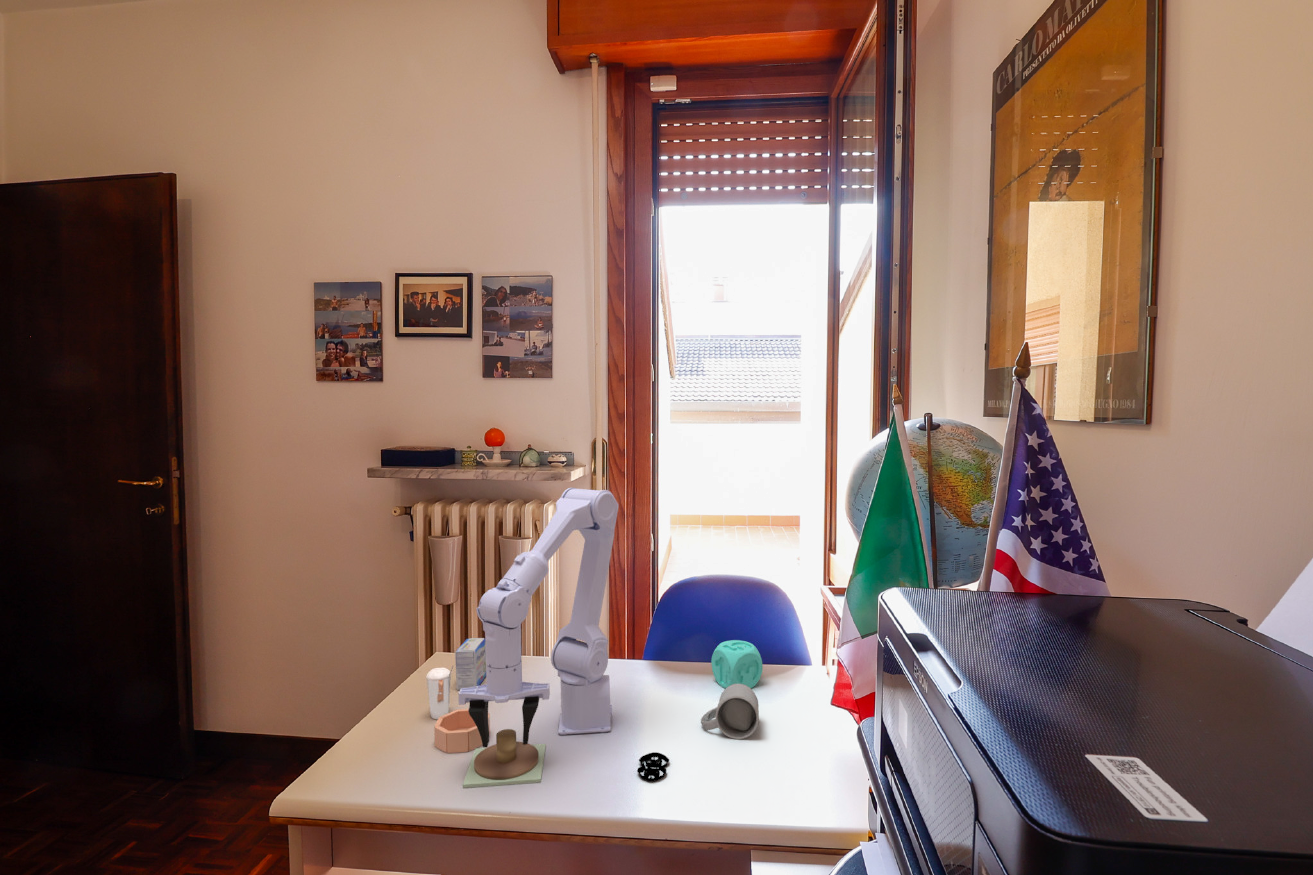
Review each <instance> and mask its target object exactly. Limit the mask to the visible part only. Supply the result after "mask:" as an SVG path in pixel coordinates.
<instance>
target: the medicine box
mask: <svg viewBox="0 0 1313 875" xmlns="http://www.w3.org/2000/svg"><path fill="white" fill-rule="evenodd" d="M454 654H455V655H454V656H455V657H454V658H455V680H456V681H455V682H456V691H460V689H461V688H470V687H475V686H481V685H482V683H483V682H484V680H485V678H486V643H485V638H484V637H472V638H466V639H465V640H464V642H463V643H462V644H461V645H460V646H459V647H458V648H457V649H456V650H455V652H454Z"/></svg>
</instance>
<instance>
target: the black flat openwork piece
mask: <svg viewBox="0 0 1313 875" xmlns="http://www.w3.org/2000/svg"><path fill="white" fill-rule="evenodd" d="M648 761H649V762H648ZM658 761H659V762H658ZM663 761H664V762H663ZM638 762H639V763H640V764H641V766H640V767H638V768H637V770H636V772H637V773H638V774H639V776H640V778H642V780H644V781H646V782H651V783H653V782H657V781H658V780H661V779H663V778H664V777H665V774H667V768H666V767H667V766H668V763H669V762H670V759H669V757H667V756H666V755H665V754H663V753H660V752H648V753H647V754H644V755H641V757H640V758H639V759H638ZM661 773H662V775H661Z"/></svg>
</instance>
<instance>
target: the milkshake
mask: <svg viewBox="0 0 1313 875" xmlns="http://www.w3.org/2000/svg"><path fill="white" fill-rule="evenodd" d="M453 668H454V665H452V666H451V668H450V670H449V669H448V668H446V667H434V668H432V669H431V670H429V671H428V673H427V674H426V677H425V679H426V685H427V693H428V701H429V703H428V704H429V711H430V718H432V719H433V720H438V719H439V717H441V716H443V715H445V714H448V713H450V712H449V711H450V696H451V695H450V694H451V691H450V690H451V678H452V670H453Z"/></svg>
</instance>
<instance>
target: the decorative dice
mask: <svg viewBox="0 0 1313 875" xmlns="http://www.w3.org/2000/svg"><path fill="white" fill-rule="evenodd" d="M761 656H762V655H761V654H760V652H759V650H758V648H757V647H756V646H755V645H754V644H753V643H751V642H748V641H745V640H740V639H732V640H726V641H723V642H720V643H719V644H718V645H717V647H716V648H715V649H714V651H713V653H712V656H711V660H710V661H711V663H710V664H711V670H712V674H713V677H714V679H715V680H716V682H717V683H718V685H719V686H720V687H721V688H723V689H724V690H725V689H726V688H727V687H728V686H730V685H733V684H743V685H746V686H748V687H749V688H751V689H752V688H754V687H755V686H756V685H757V684H758V683H759V681H760V679H761V677H762V675H763V668H764V666H763V659H762V657H761Z"/></svg>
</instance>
